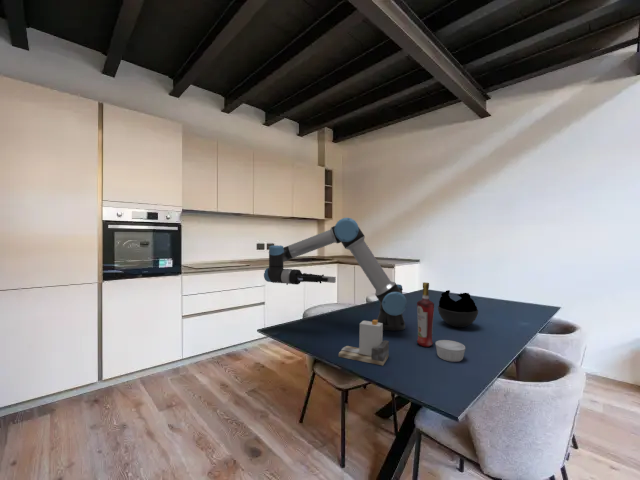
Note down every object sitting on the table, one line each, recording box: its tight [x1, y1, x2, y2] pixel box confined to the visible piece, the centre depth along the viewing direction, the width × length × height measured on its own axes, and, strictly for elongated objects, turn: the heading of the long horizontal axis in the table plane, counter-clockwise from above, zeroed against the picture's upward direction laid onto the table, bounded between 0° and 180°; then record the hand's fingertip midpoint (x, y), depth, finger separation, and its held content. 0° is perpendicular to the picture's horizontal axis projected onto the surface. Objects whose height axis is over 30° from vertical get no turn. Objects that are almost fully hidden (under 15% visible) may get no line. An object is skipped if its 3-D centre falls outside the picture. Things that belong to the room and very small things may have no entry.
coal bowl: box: [437, 289, 479, 328], centre depth 165 cm, size 20×20×19 cm
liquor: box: [416, 282, 435, 348], centre depth 135 cm, size 7×7×28 cm
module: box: [358, 319, 384, 356], centre depth 120 cm, size 8×5×13 cm, turn 64°
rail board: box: [338, 340, 390, 366], centre depth 121 cm, size 18×9×6 cm, turn 64°
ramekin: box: [435, 339, 466, 363], centre depth 122 cm, size 11×11×5 cm
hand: (335, 279), depth 143 cm, fingers closed
